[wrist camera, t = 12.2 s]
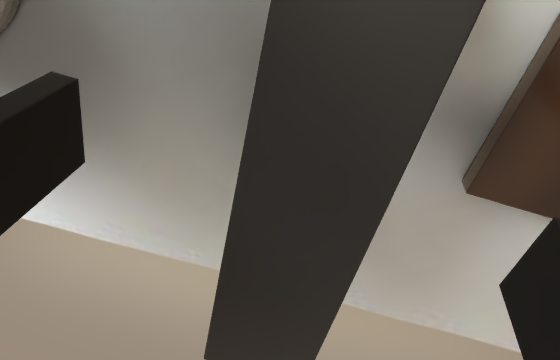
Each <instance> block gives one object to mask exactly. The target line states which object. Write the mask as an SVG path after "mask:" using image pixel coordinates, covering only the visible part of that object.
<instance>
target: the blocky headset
mask: <svg viewBox="0 0 560 360" xmlns="http://www.w3.org/2000/svg"><path fill="white" fill-rule="evenodd" d="M485 1H486V0H271V3H270V8H269V14H268V19H267V24H266V29H265V35H264V40H263V45H262V51H261V56H260V61H259V67H258V72H257V77H256V83H255V88H254V93H253V99H252V104H251V109H250V115H249V120H248V125H247V131H246V136H245V141H244V146H243V152H242V157H241V162H240V168H239V173H238V178H237V184H236V189H235V194H234V200H233V205H232V210H231V216H230V221H229V226H228V232H227V237H226V242H225V247H224V253H223V258H222V263H221V269H220V274H219V280H218V285H217V290H216V296H215V301H214V306H213V311H212V317H211V322H210V328H209V333H208V338H207V343H206V349H205V354H204V359H206V360H315V359H316V356H317V354H318V352H319V350H320V348H321V346H322V344H323V342H324V339H325V338H326V335H327V333H328V331H329V329H330V327H331V325H332V323H333V321H334V319H335V316H336V314H337V312H338V310H339V308H340V306H341V304H342V302H343V300H344V298H345V295H346V293H347V291H348V289H349V287H350V285H351V283H352V281H353V279H354V277H355V274H356V272H357V270H358V268H359V266H360V264H361V262H362V260H363V258H364V255H365V253H366V251H367V249H368V247H369V245H370V243H371V241H372V239H373V237H374V234H375V232H376V230H377V228H378V226H379V224H380V222H381V220H382V218H383V216H384V213H385V211H386V209H387V207H388V205H389V203H390V201H391V199H392V197H393V194H394V192H395V190H396V188H397V186H398V184H399V182H400V180H401V178H402V176H403V173H404V171H405V169H406V167H407V165H408V163H409V161H410V159H411V157H412V155H413V152H414V150H415V148H416V146H417V144H418V142H419V140H420V138H421V136H422V133H423V131H424V129H425V127H426V125H427V123H428V121H429V119H430V117H431V115H432V112H433V110H434V108H435V106H436V104H437V102H438V100H439V98H440V96H441V94H442V91H443V89H444V87H445V85H446V83H447V81H448V79H449V77H450V75H451V72H452V70H453V68H454V66H455V64H456V62H457V60H458V58H459V56H460V54H461V51H462V49H463V47H464V45H465V43H466V41H467V39H468V37H469V35H470V32H471V30H472V28H473V26H474V24H475V22H476V20H477V18H478V16H479V14H480V11H481V9H482V7H483V5H484V3H485Z"/></svg>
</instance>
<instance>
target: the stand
mask: <svg viewBox="0 0 560 360" xmlns="http://www.w3.org/2000/svg"><path fill="white" fill-rule="evenodd" d="M462 181H463V185H464V188H465V191H466V193H468V194H471V195H474V196H478V197H481V198H485V199H488V200H491V201H495V202H498V203H502V204H505V205H508V206H512V207H515V208H518V209H522V210H525V211H529V212H532V213H535V214H539V215H542V216H546V217H549V218H552V219H553V218H554V217H557V218H560V14H559V16H558V18H557V19H556V21H555V23H554V24H553V26H552V28H551V30H550V31H549V33H548V35H547V36H546V38H545V40H544V42H543V43H542V45H541V47H540V48H539V50H538V52H537V53H536V55H535V57H534V59H533V60H532V62H531V64H530V65H529V67H528V69H527V71H526V72H525V74H524V76H523V77H522V79H521V81H520V83H519V84H518V86H517V88H516V89H515V91H514V93H513V95H512V96H511V98H510V100H509V101H508V103H507V105H506V106H505V108H504V110H503V112H502V113H501V115H500V117H499V118H498V120H497V122H496V124H495V125H494V127H493V129H492V130H491V132H490V134H489V136H488V137H487V139H486V141H485V142H484V144H483V146H482V147H481V149H480V151H479V153H478V154H477V156H476V158H475V159H474V161H473V163H472V165H471V166H470V168H469V170H468V171H467V173H466V175H465V177H464V178H463V180H462Z"/></svg>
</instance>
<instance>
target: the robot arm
mask: <svg viewBox="0 0 560 360" xmlns="http://www.w3.org/2000/svg"><path fill="white" fill-rule="evenodd" d="M19 2H20V0H0V33H1V32H2V31H3V30H4V29H5V28H6V27H7V25H8V24H9V23H10V21H11V20H12V18H13V17H14V15H15V12H16V10H17V8H18V5H19ZM83 163H85V156H84V144H83V132H82V120H81V108H80V96H79V84H78V79H76V78H72V77H69V76H65V75H62V74H58V73H55V72H50V73H48V74H46V75H44V76H42V77H40V78H38V79H36V80H34V81H32V82H30V83H28V84H26V85H24V86H22V87H20V88H18V89H16V90H14V91H12V92H10V93H8V94H6V95H4V96H2V97H0V235H2V234H3V233H4V232H5V231H6V230H7V229H8V228H10V227H11V226H12V225H13V224H14V223H15V222H17V221H18V220H19V219H20V218H21V217H22V216H24V215H25V214H26V213H27V212H28V211H29V210H30V209H32V208H33V207H34V206H35V205H36V204H37V203H38V202H40V201H41V200H42V199H43V198H44V197H45V196H47V195H48V194H49V193H50V192H51V191H52V190H53V189H55V188H56V187H57V186H58V185H59V184H60V183H62V182H63V181H64V180H65V179H66V178H67V177H68V176H70V175H71V174H72V173H73V172H74V171H75V170H77V169H78V168H79V167H80V166H81V165H82V164H83ZM499 286H500V289H501V292H502V295H503V298H504V301H505V304H506V307H507V310H508V314H509V317H510V320H511V323H512V326H513V329H514V332H515V335H516V338H517V341H518V344H519V347H520V350H521V353H522V356H523V359H524V360H560V218H557V217H554V218H553V219H552V221H551V222H550V223H549V224H548V225H547V227H546V228H545V229H544V230H543V232H542V233H541V234H540V235H539V237H538V238H537V239H536V240H535V242H534V243H533V244H532V245H531V247H530V248H529V249H528V250H527V251H526V253H525V254H524V255H523V256H522V258H521V259H520V260H519V261H518V263H517V264H516V265H515V266H514V268H513V269H512V270H511V271H510V272H509V274H508V275H507V276H506V277H505V279H504V280H503V281H502V282H501V284H500V285H499Z"/></svg>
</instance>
